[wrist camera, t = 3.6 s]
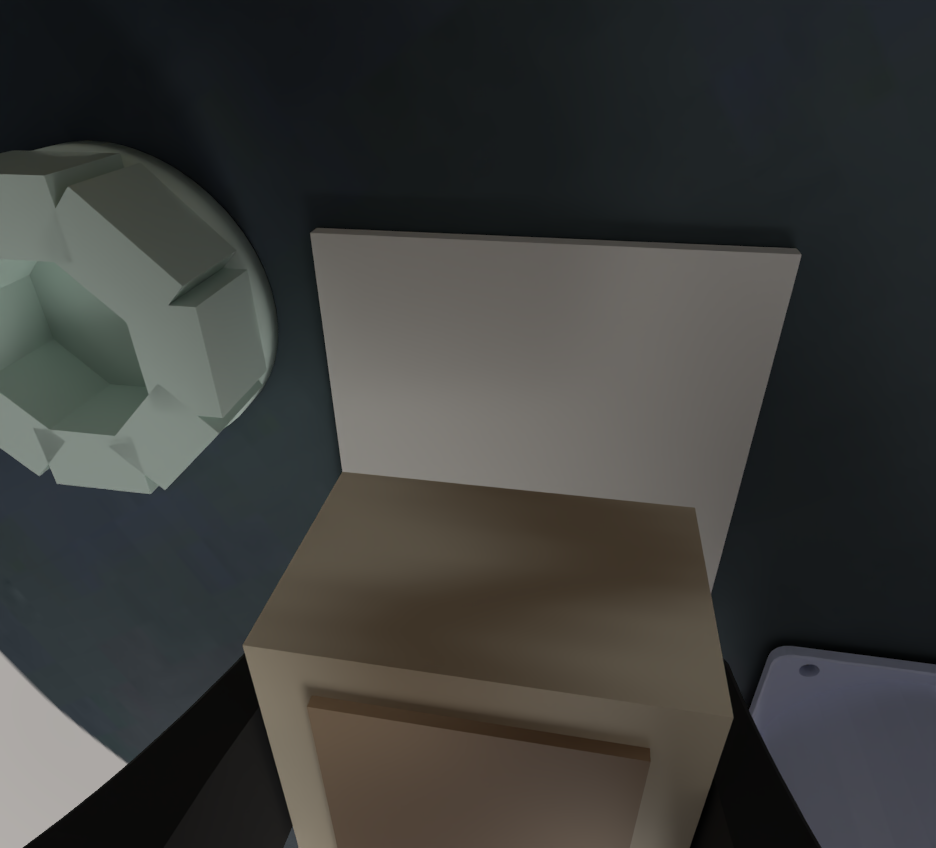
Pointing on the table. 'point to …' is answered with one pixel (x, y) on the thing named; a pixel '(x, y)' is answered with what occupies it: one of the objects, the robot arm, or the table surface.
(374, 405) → the mat
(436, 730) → the beige square box
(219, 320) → the bowl
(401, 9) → the table surface
